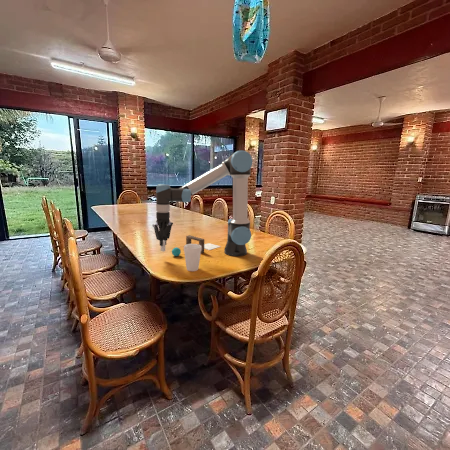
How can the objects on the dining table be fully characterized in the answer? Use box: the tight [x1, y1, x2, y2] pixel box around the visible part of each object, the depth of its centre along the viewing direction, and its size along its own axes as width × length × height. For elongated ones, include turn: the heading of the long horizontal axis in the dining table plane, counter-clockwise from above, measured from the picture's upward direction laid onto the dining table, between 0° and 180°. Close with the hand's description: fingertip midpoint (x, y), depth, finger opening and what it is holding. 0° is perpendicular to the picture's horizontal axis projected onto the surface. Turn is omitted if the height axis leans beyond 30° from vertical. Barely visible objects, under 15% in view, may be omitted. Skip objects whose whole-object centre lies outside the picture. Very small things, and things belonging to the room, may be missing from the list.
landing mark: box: [204, 242, 222, 251], centre depth 176 cm, size 12×12×1 cm
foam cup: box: [183, 243, 202, 272], centre depth 132 cm, size 10×9×13 cm
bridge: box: [185, 234, 205, 254], centre depth 165 cm, size 3×14×9 cm, turn 50°
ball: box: [171, 246, 181, 257], centre depth 153 cm, size 6×6×6 cm
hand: (163, 250), depth 145 cm, fingers closed
